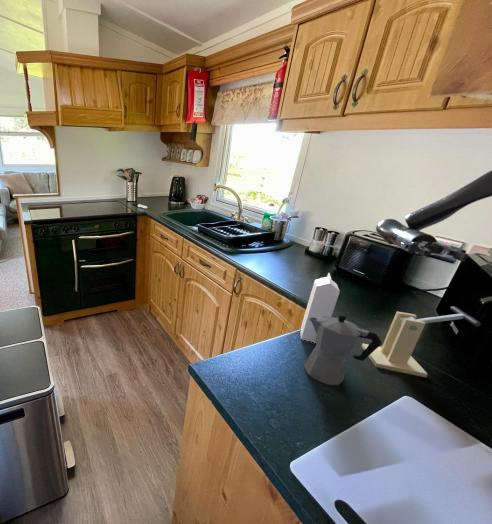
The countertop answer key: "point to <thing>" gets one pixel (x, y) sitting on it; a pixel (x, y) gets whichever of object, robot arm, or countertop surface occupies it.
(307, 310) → the milk
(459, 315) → the lever
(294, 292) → the countertop surface
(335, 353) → the coffeepot
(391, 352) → the bracket
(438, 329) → the countertop surface
